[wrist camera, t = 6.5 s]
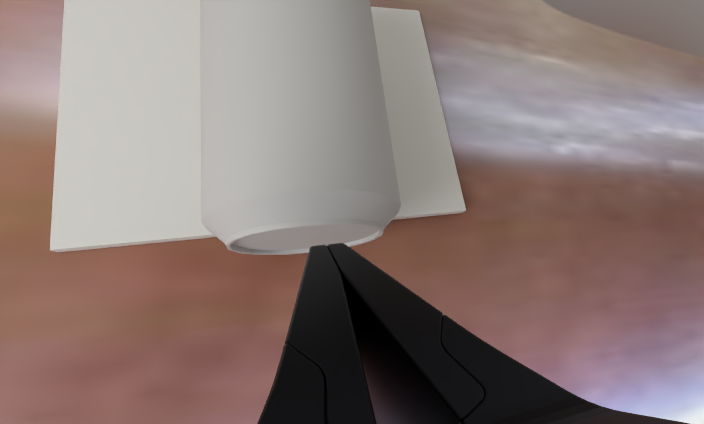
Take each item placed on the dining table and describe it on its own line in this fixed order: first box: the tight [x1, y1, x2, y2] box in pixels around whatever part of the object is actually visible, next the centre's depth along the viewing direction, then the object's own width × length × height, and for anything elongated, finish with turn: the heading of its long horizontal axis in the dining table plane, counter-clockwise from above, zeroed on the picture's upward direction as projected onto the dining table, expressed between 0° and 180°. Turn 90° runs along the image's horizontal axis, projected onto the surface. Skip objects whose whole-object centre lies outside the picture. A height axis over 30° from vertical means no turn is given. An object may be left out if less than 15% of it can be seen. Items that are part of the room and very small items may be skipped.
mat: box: [50, 0, 466, 252], centre depth 19 cm, size 14×20×1 cm
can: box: [200, 0, 401, 255], centre depth 14 cm, size 8×8×12 cm
